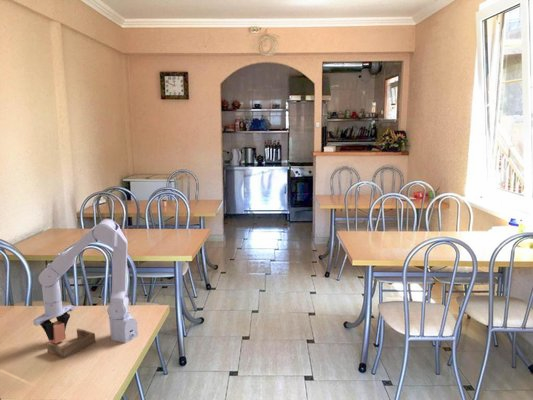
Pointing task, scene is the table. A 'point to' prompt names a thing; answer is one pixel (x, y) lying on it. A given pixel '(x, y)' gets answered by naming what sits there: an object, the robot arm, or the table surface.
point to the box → (72, 344)
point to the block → (58, 332)
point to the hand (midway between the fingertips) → (56, 336)
